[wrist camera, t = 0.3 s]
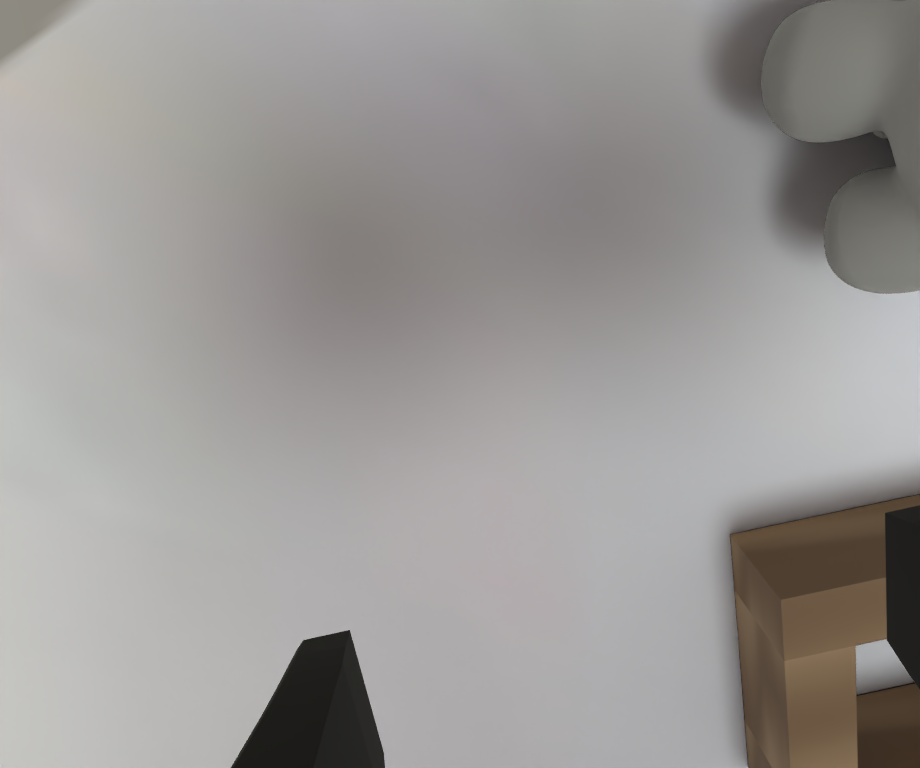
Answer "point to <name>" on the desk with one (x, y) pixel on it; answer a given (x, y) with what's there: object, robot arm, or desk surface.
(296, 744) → the robot arm
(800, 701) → the hole block
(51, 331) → the desk surface
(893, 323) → the desk surface
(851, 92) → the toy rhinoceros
